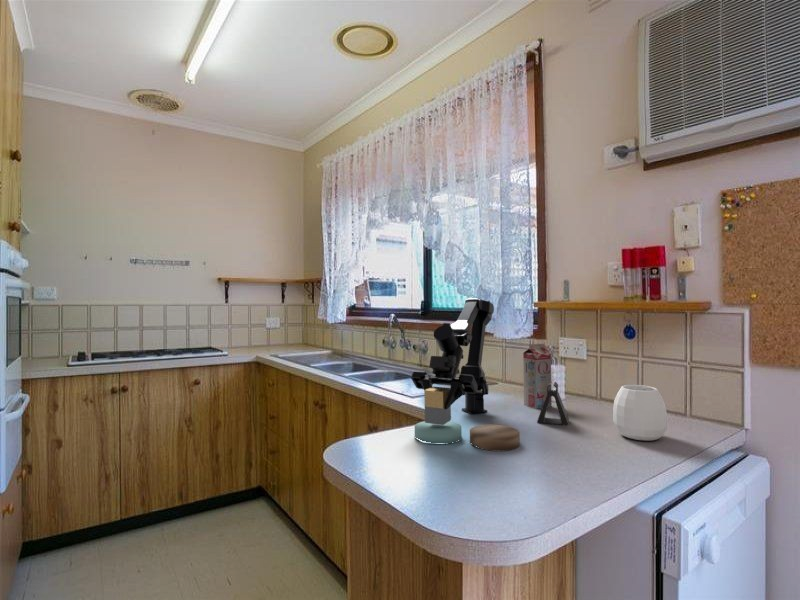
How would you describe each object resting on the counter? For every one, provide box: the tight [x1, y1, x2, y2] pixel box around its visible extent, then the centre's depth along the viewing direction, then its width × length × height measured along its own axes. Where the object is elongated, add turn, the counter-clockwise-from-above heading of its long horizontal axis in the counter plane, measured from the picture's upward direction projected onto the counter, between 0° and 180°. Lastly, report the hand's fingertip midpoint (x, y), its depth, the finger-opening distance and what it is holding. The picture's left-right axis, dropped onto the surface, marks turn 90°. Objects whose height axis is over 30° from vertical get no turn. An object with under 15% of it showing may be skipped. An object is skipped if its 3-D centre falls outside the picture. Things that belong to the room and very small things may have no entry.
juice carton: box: [522, 342, 553, 410], centre depth 159 cm, size 7×7×22 cm
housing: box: [423, 386, 452, 425], centre depth 125 cm, size 6×6×9 cm
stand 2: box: [469, 424, 521, 452], centre depth 120 cm, size 13×13×3 cm
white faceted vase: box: [612, 384, 668, 441], centre depth 123 cm, size 13×13×14 cm
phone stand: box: [536, 380, 570, 427], centre depth 139 cm, size 9×6×12 cm, turn 68°
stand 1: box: [414, 420, 463, 444], centre depth 125 cm, size 13×13×3 cm
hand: (435, 407), depth 124 cm, fingers closed on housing, 5 cm apart
